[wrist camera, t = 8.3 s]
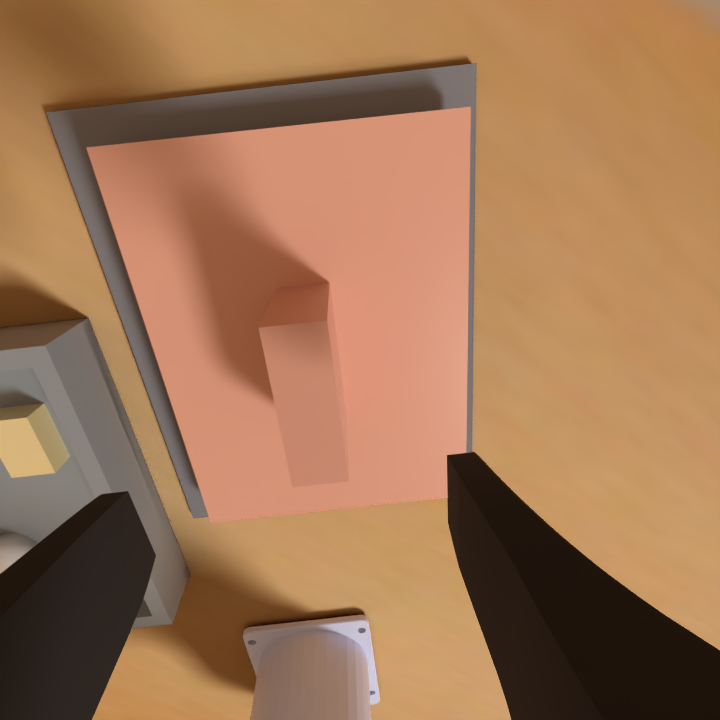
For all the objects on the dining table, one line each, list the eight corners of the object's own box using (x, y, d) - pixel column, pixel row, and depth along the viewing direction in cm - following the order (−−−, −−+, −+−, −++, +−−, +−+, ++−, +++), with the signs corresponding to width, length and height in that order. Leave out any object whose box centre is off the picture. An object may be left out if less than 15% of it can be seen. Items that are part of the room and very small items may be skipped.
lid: (457, 474, 22) (493, 569, 17) (219, 499, 22) (182, 603, 17) (458, 111, 15) (520, 87, 10) (109, 148, 15) (-8, 143, 10)
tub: (190, 574, 25) (172, 624, 22) (-13, 596, 25) (-55, 649, 22) (88, 317, 18) (44, 345, 16) (-190, 349, 18) (-282, 382, 16)
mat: (470, 483, 23) (471, 487, 23) (194, 514, 23) (193, 518, 23) (473, 64, 15) (476, 62, 15) (50, 112, 15) (45, 112, 15)
